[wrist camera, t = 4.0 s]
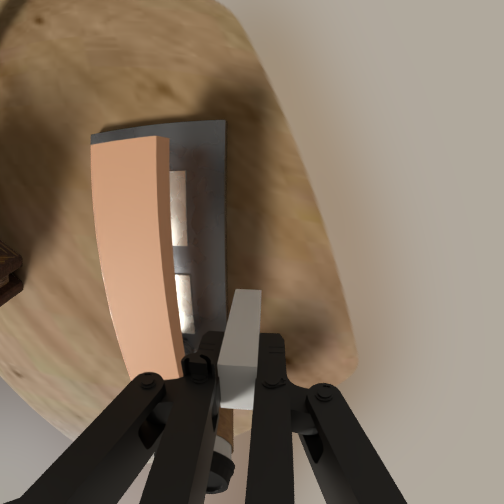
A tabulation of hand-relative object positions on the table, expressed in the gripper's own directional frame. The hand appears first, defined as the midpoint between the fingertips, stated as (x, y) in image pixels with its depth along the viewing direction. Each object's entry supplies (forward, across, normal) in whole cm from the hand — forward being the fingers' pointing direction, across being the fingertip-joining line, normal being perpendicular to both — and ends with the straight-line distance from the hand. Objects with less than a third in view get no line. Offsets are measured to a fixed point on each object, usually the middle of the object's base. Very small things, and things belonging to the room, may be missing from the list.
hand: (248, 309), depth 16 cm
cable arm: (+4, -8, -2) cm, 9 cm away
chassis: (+11, -10, -1) cm, 15 cm away
